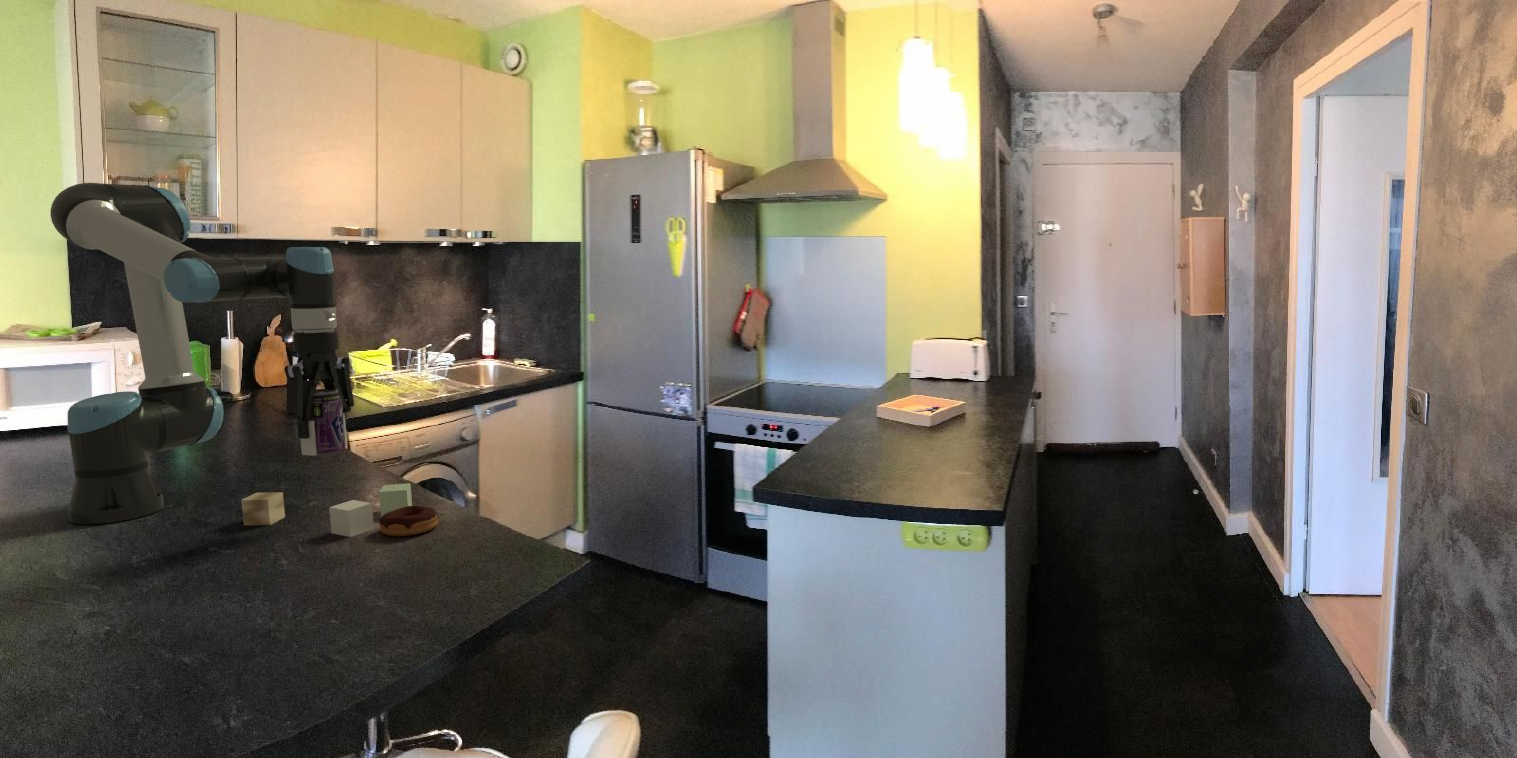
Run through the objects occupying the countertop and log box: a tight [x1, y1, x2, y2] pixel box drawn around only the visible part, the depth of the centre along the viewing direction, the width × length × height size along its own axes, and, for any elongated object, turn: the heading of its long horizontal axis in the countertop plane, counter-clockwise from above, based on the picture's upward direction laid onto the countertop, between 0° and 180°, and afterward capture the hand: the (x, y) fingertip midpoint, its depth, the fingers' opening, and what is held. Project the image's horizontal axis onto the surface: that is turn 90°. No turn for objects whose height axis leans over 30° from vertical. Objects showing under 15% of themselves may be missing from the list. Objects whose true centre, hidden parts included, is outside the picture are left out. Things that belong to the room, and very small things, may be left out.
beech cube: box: [241, 491, 286, 526], centre depth 164 cm, size 5×5×5 cm
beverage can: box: [303, 388, 346, 457], centre depth 163 cm, size 7×7×12 cm
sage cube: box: [378, 483, 413, 518], centre depth 168 cm, size 5×5×5 cm
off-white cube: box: [328, 499, 375, 538], centre depth 157 cm, size 5×5×5 cm
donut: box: [378, 505, 439, 537], centre depth 157 cm, size 10×10×4 cm
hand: (324, 449), depth 164 cm, fingers closed on beverage can, 7 cm apart
